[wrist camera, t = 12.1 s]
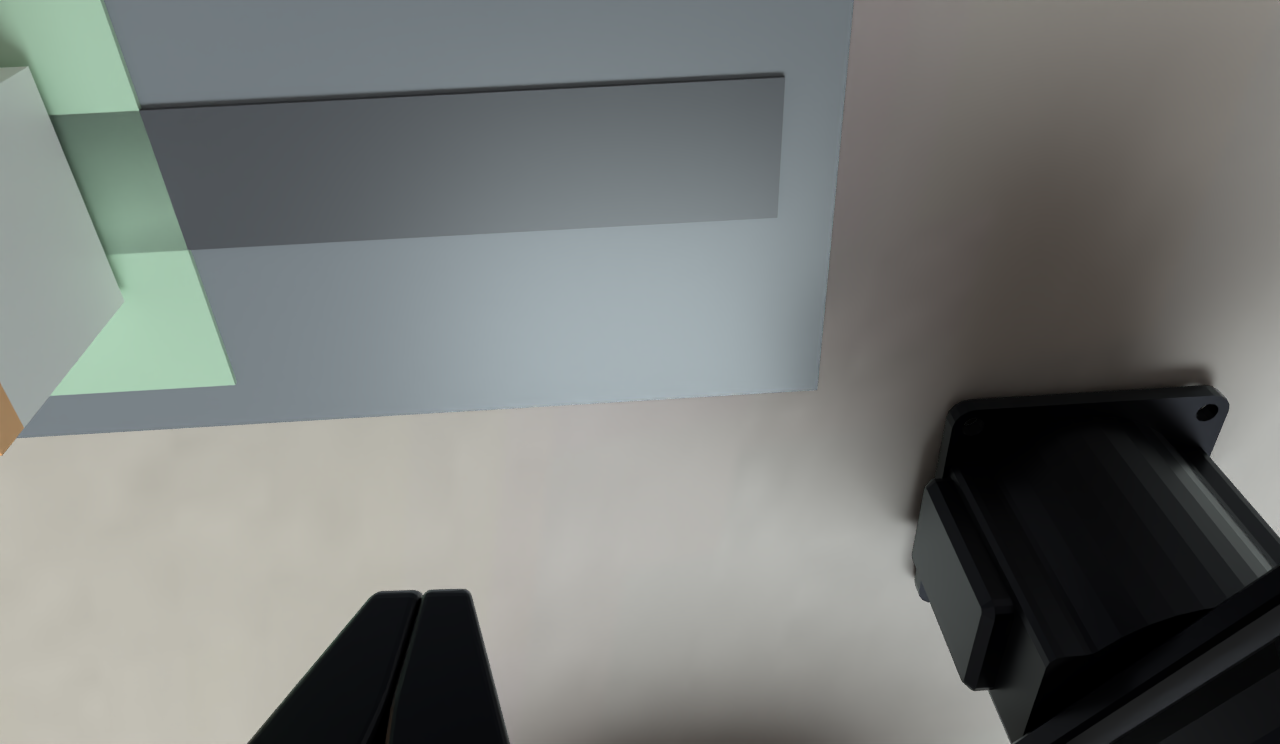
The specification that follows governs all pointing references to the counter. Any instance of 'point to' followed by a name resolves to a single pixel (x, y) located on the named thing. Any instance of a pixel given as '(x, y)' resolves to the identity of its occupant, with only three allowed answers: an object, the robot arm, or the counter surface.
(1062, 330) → the counter surface
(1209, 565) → the robot arm
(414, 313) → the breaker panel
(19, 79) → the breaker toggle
